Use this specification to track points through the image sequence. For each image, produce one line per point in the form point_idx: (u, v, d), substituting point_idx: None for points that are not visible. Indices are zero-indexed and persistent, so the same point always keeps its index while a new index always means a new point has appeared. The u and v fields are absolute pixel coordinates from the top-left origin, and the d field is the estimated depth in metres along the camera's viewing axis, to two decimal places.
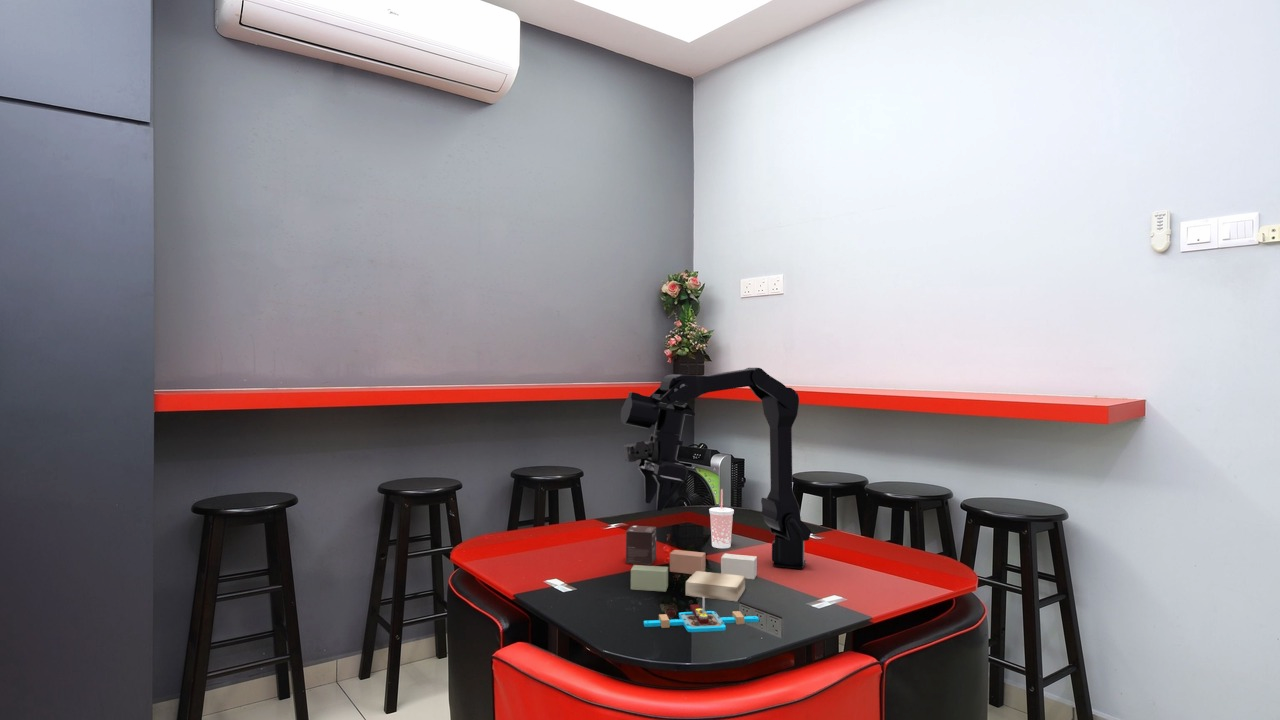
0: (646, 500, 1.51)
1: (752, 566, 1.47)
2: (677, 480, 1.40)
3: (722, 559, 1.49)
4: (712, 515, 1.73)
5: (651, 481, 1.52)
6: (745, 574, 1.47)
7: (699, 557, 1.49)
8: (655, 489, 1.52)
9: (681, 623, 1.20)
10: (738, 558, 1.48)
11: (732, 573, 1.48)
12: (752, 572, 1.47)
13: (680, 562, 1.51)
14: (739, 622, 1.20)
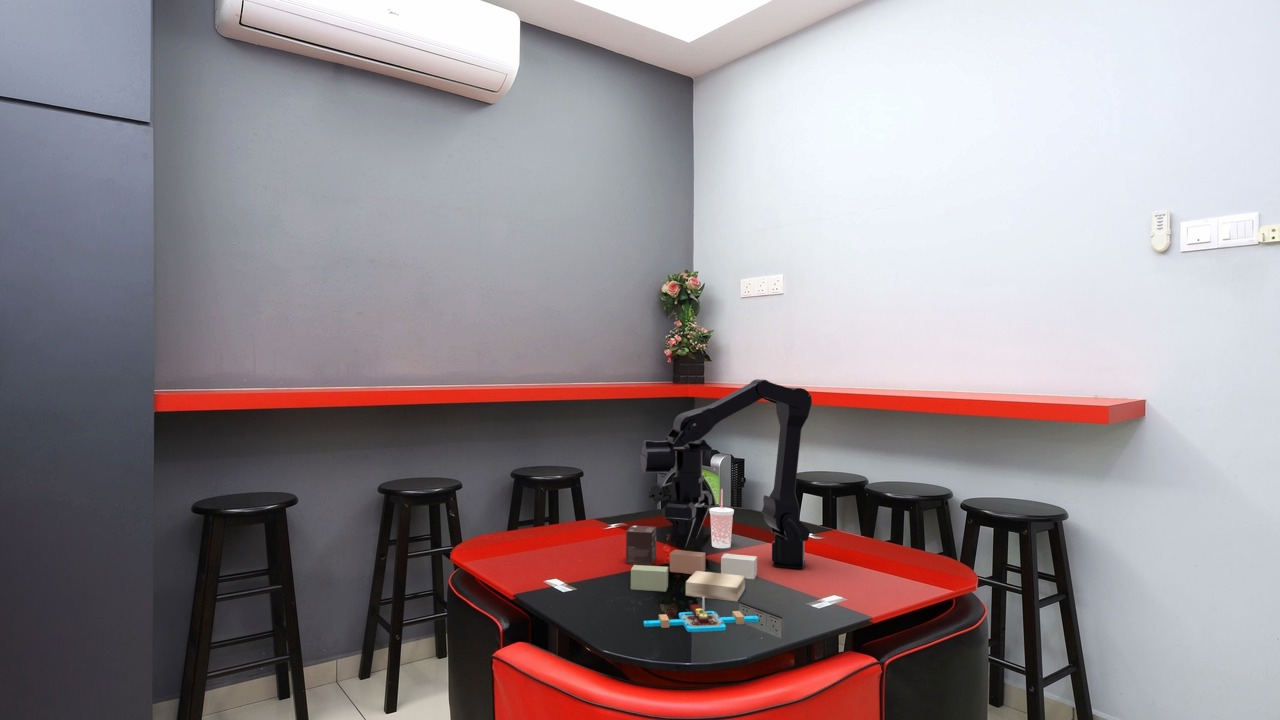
0: (691, 536, 1.56)
1: (752, 566, 1.47)
2: (685, 519, 1.44)
3: (722, 559, 1.49)
4: (712, 515, 1.73)
5: (694, 517, 1.57)
6: (745, 573, 1.47)
7: (699, 557, 1.49)
8: (699, 525, 1.56)
9: (681, 623, 1.20)
10: (738, 558, 1.48)
11: (732, 573, 1.48)
12: (752, 572, 1.47)
13: (680, 562, 1.51)
14: (739, 622, 1.20)
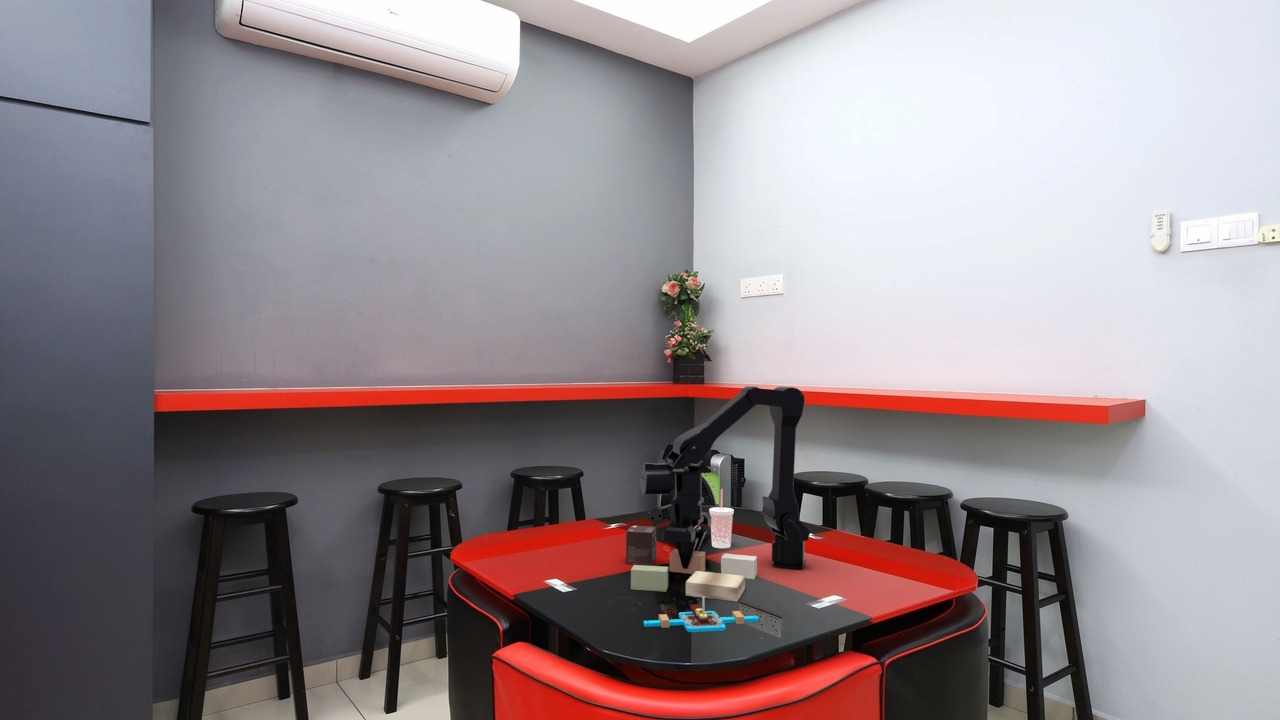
0: None
1: (752, 566, 1.47)
2: None
3: (722, 559, 1.49)
4: (712, 515, 1.73)
5: None
6: (745, 573, 1.47)
7: (699, 556, 1.49)
8: (695, 549, 1.53)
9: (681, 623, 1.20)
10: (738, 558, 1.48)
11: (732, 573, 1.48)
12: (752, 572, 1.47)
13: (680, 561, 1.51)
14: (739, 622, 1.20)
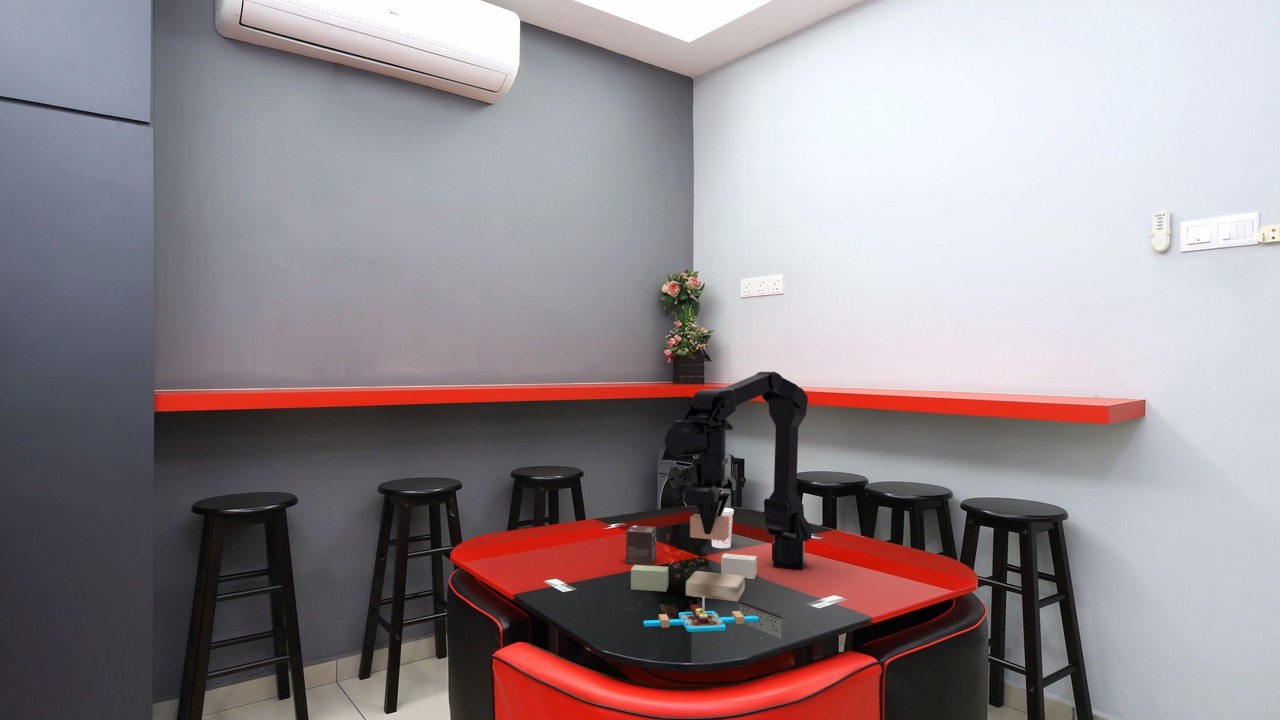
0: None
1: (752, 566, 1.47)
2: None
3: (722, 559, 1.49)
4: None
5: None
6: (745, 573, 1.47)
7: (722, 520, 1.37)
8: (718, 514, 1.42)
9: (681, 623, 1.20)
10: (738, 558, 1.48)
11: (732, 573, 1.48)
12: (752, 572, 1.47)
13: (701, 526, 1.39)
14: (739, 622, 1.20)
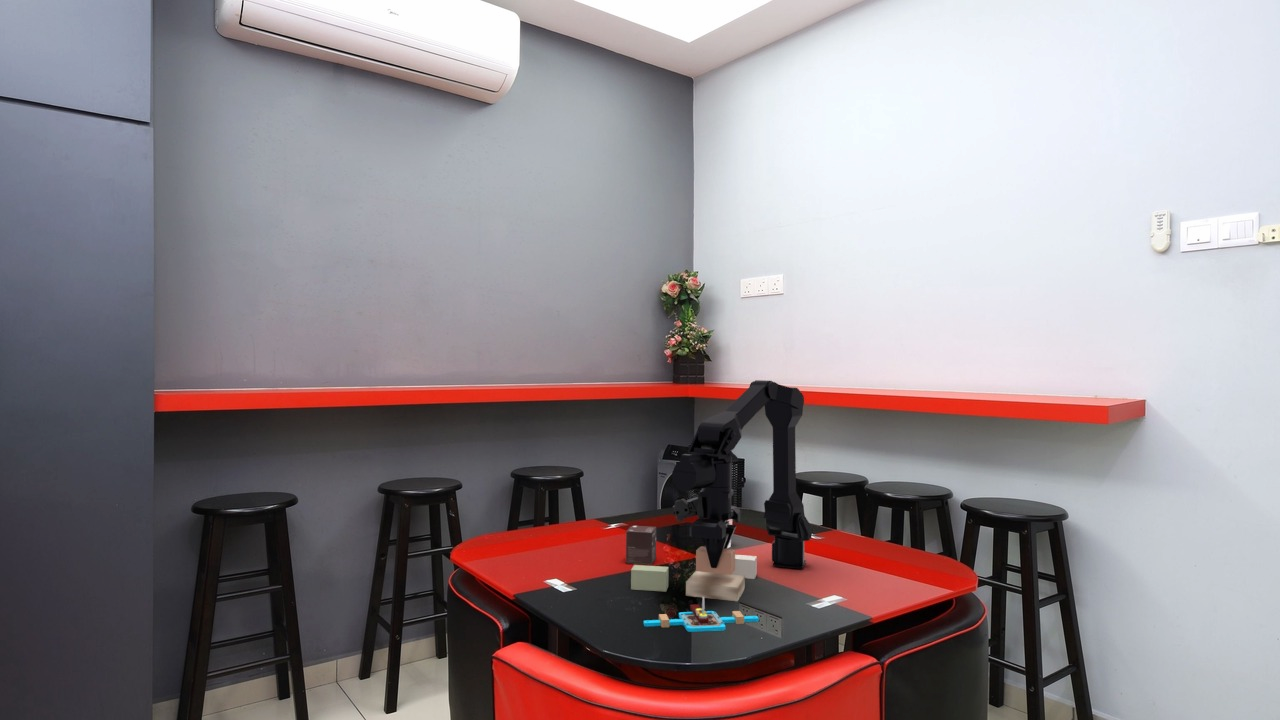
0: None
1: (753, 566, 1.47)
2: None
3: None
4: None
5: None
6: (745, 573, 1.47)
7: (729, 554, 1.35)
8: (724, 547, 1.39)
9: (681, 623, 1.20)
10: (738, 558, 1.48)
11: (732, 573, 1.48)
12: (753, 572, 1.47)
13: (707, 560, 1.36)
14: (739, 622, 1.20)
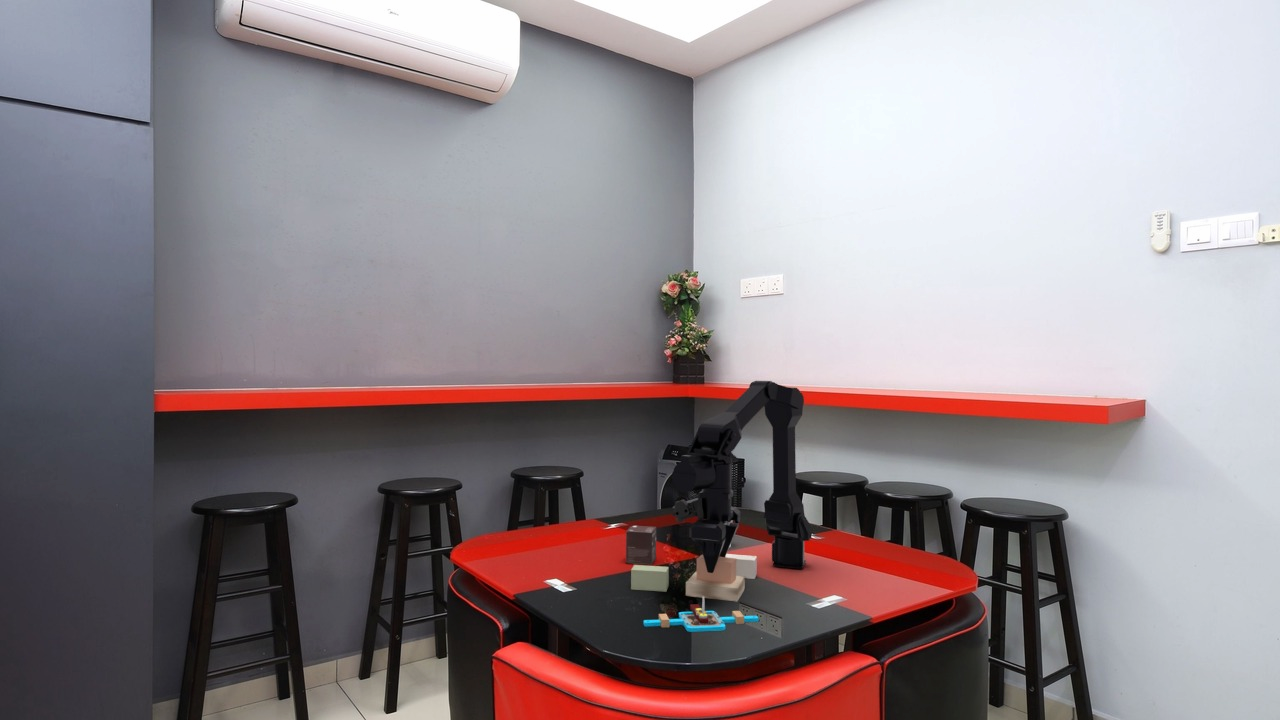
0: None
1: (753, 566, 1.47)
2: (714, 541, 1.30)
3: None
4: None
5: None
6: (745, 573, 1.47)
7: (729, 563, 1.35)
8: (727, 545, 1.42)
9: (681, 623, 1.20)
10: (738, 558, 1.48)
11: None
12: (753, 572, 1.47)
13: None
14: (739, 622, 1.20)
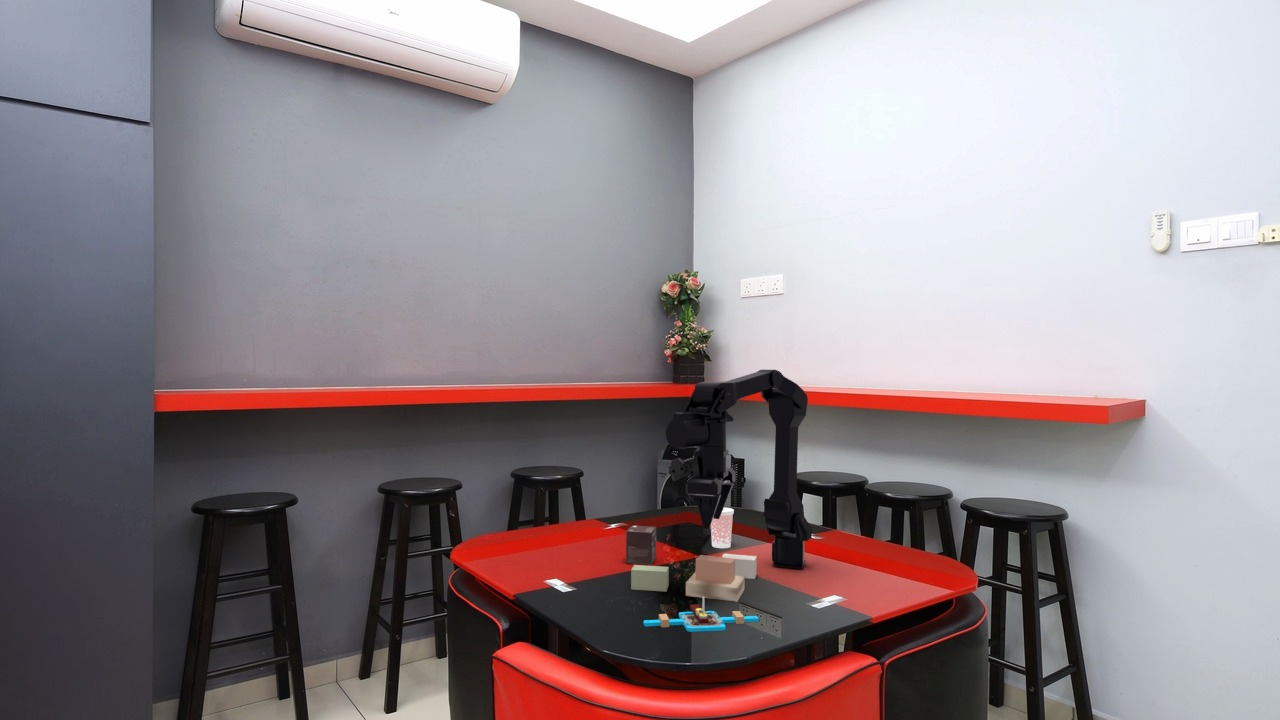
0: (714, 516, 1.44)
1: (753, 566, 1.47)
2: (710, 496, 1.32)
3: None
4: None
5: None
6: (745, 573, 1.47)
7: (728, 564, 1.35)
8: (722, 503, 1.44)
9: (681, 623, 1.20)
10: (738, 558, 1.48)
11: None
12: (753, 572, 1.47)
13: (707, 569, 1.36)
14: (739, 622, 1.20)
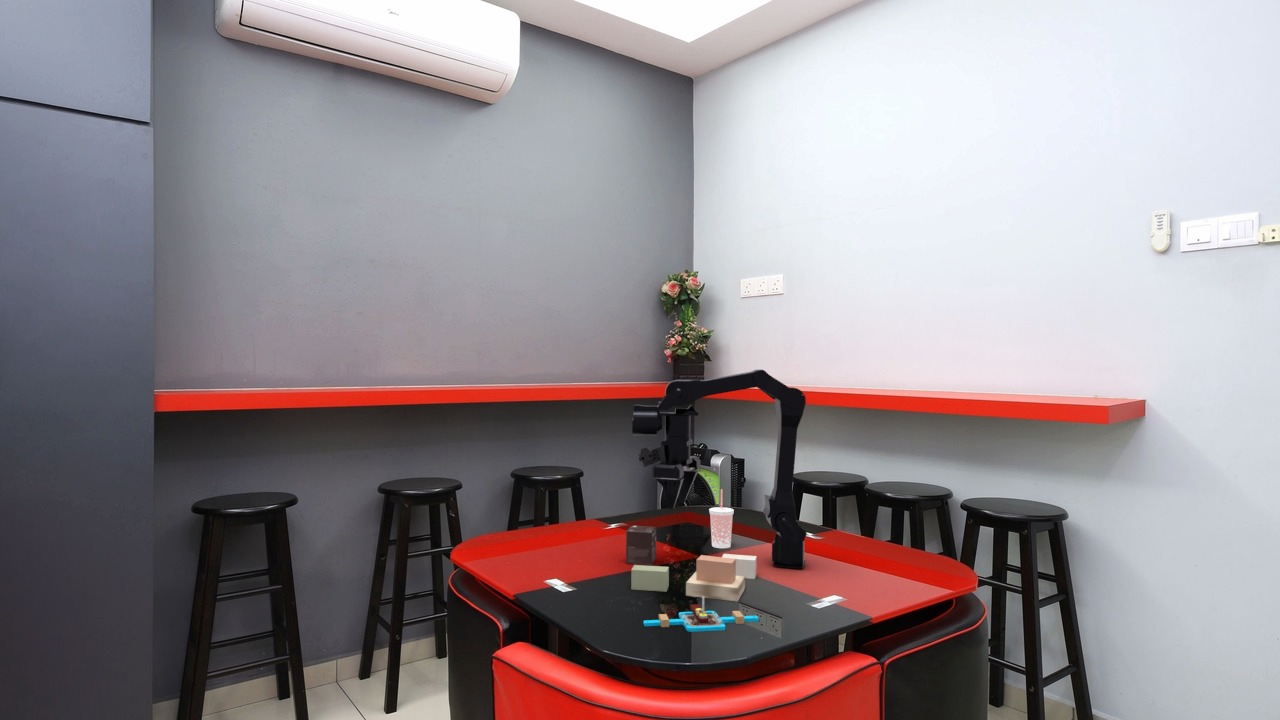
0: (680, 499, 1.62)
1: (753, 566, 1.47)
2: (673, 480, 1.50)
3: None
4: (712, 515, 1.73)
5: (683, 480, 1.63)
6: (745, 573, 1.47)
7: (729, 564, 1.35)
8: (687, 488, 1.62)
9: (681, 623, 1.20)
10: (739, 558, 1.48)
11: None
12: (753, 572, 1.47)
13: (708, 569, 1.36)
14: (739, 622, 1.20)
